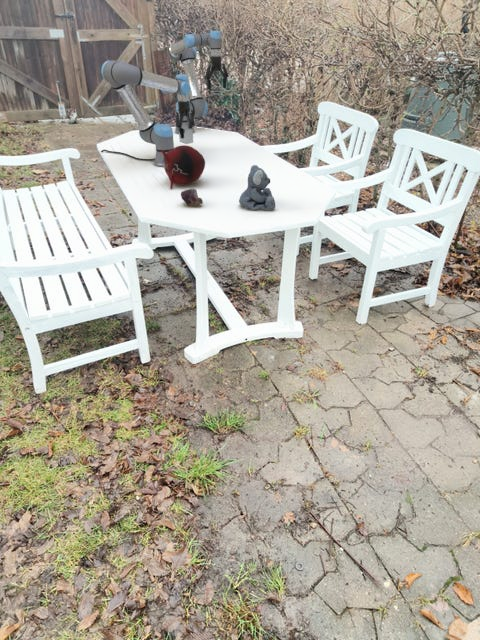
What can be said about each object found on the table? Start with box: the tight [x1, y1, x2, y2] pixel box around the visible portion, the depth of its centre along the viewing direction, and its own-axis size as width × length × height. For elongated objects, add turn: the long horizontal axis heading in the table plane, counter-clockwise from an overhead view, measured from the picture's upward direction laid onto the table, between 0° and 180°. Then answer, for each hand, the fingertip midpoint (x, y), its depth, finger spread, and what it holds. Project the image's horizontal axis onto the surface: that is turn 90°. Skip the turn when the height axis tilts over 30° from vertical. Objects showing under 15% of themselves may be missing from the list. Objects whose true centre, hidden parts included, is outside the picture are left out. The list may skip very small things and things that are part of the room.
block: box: [178, 126, 194, 145], centre depth 311 cm, size 6×9×10 cm
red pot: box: [161, 144, 206, 190], centre depth 256 cm, size 21×24×25 cm
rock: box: [180, 188, 204, 207], centre depth 229 cm, size 12×9×10 cm
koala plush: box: [238, 164, 276, 211], centre depth 224 cm, size 17×18×20 cm
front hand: (186, 137), depth 312 cm, fingers closed on block, 6 cm apart
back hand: (217, 89), depth 336 cm, fingers open, 13 cm apart
